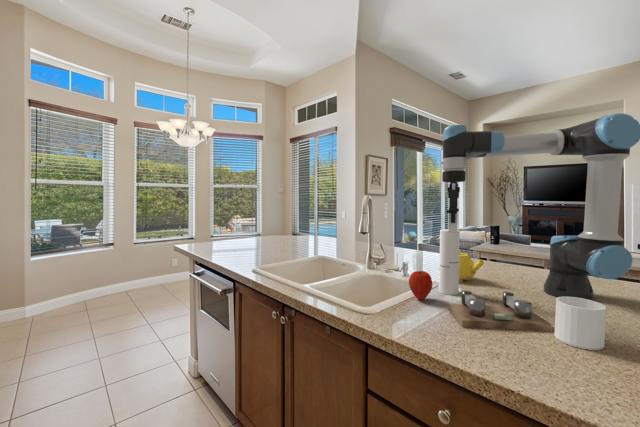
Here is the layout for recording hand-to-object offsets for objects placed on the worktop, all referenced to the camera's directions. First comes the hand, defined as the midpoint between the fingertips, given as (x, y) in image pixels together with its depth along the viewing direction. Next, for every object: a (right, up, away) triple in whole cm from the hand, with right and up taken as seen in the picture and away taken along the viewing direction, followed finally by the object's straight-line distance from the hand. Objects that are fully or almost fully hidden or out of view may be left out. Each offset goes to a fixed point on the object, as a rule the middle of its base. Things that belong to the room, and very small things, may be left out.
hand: (452, 230), depth 108 cm
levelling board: (+7, -27, -14) cm, 31 cm away
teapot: (+18, -25, +31) cm, 44 cm away
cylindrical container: (+4, -26, +14) cm, 29 cm away
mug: (+22, -28, -27) cm, 45 cm away
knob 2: (+14, -24, -12) cm, 31 cm away
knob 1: (+1, -24, -11) cm, 27 cm away
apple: (-10, -26, +6) cm, 28 cm away
